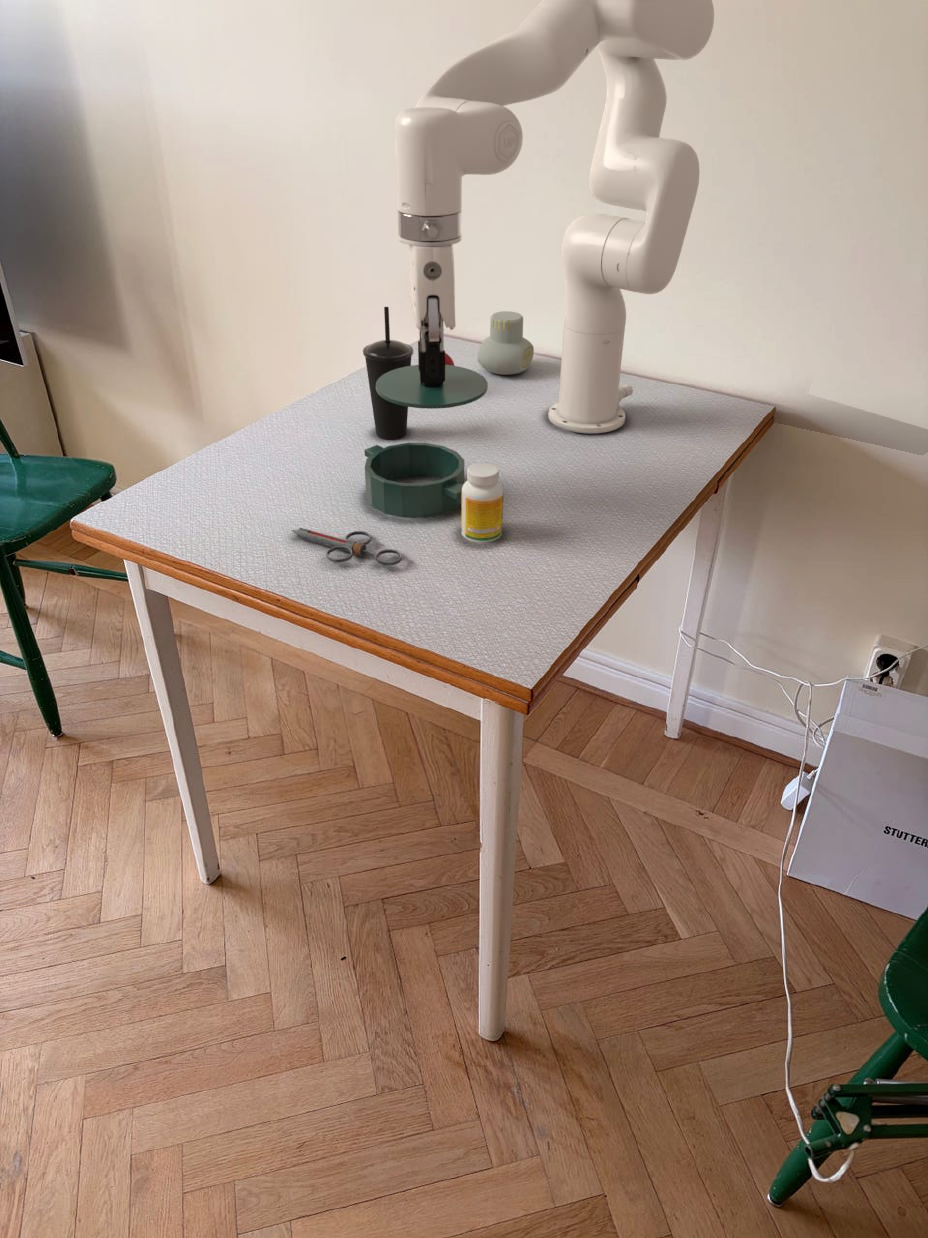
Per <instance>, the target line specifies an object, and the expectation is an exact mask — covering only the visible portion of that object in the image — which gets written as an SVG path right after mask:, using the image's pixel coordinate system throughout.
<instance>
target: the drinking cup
mask: <svg viewBox="0 0 928 1238" xmlns="http://www.w3.org/2000/svg"><path fill="white" fill-rule="evenodd" d="M389 309H390V308H389V306H383V313H384V314H383V315H384V316H383V317H384V335H385V336H384V337H385V339H381V340H377V341H375V342H373V343H370V344H368V345H366V346H364V347H363V348H362V355H363V356H364V359H365V365H366V372H367V379H368V385H369V387H368V388H369V392H370V401H371V406H372V408H371V409H372V414H373V421H374V422H373V423H374V428H375V434H376V437H378V438H379V439H383V440H387V441H388V440H389V441H393V440H399V439H403V438H404V437H405V436H407V430H408V417H409V416H408V414H409V407H407V406H402V405H398V404H395V403H392V402H389V401H387V400H385V399H384V398H382V397H381V396H380V395H379V394H378V393H377V391H376V382H377V380H378V379H379V378H380V377H381V376H382V375H384V374H385V373H387V372H389V371H392V370H394V369H398V368H402V367H406V366H412V357H413V356H414V348H413V346H412V345H410V344H407V343H406V342H402V341H399V340H397V339H391V335H390V334H391V333H390V332H391V331H390V310H389Z"/></svg>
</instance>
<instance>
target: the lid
mask: <svg viewBox="0 0 928 1238" xmlns="http://www.w3.org/2000/svg"><path fill="white" fill-rule="evenodd" d="M427 335H428V334H427ZM418 339H419V341H420V351H422V348H421V337H420V336H419V338H418ZM488 390H489V383H488V380H487V379H486V378H485V376H483V375H482V374H480V373H479V372H478V371H475V370H473V369H470V368H466V367H462V366H459V365H455V366H452V365H445V381H444V382H441V383H422V382H421V381H420V371H419V364H414V365H412V364H411V366H406V367H402V368H398V369H394V370H392V371H389V372H387V373H385V374H384V375H382V376H381V377H380V378H379V379H378V380H377V382H376V391H377V393H378V394H379V395H380V396H381V397H382V398H384V399H385V400H387V401H389V402H392V403H395V404H398V405H402V406H407V407H408V408H413V409H414V408H415V409H428V410H429V409H432V410H434V409H436V410H437V409H447V408H454V407H456V408H457V407H460V406H464V405H465V406H466V405H468V404H471V403H473V402H476V401H478V400H479V399H481V398H483V397H484V396H485V395H486V394H487V391H488Z"/></svg>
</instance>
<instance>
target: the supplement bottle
mask: <svg viewBox="0 0 928 1238" xmlns="http://www.w3.org/2000/svg"><path fill="white" fill-rule="evenodd" d="M466 479H467V480H466V481H464V484H463V486H462V502H461V503H460V505H461V510H460V513H461V515H460V516H461V517H460V518H461V519H460V531H461V535H462V537H464V538H465V539H467V540H468V541H472V542H477V543H489V542H494V541H496V540H498V539H499V538H500V537H501V536H502V535H503V518H504V515H503V513H504V493H505V492H504V486H503V484H502V483H501V482H500V481H499V479H500V469H499V467H498V466H497V465H495V464H493V463H489V462H477V463H473V464H471V465H469V466H468V467H467V471H466Z"/></svg>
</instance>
